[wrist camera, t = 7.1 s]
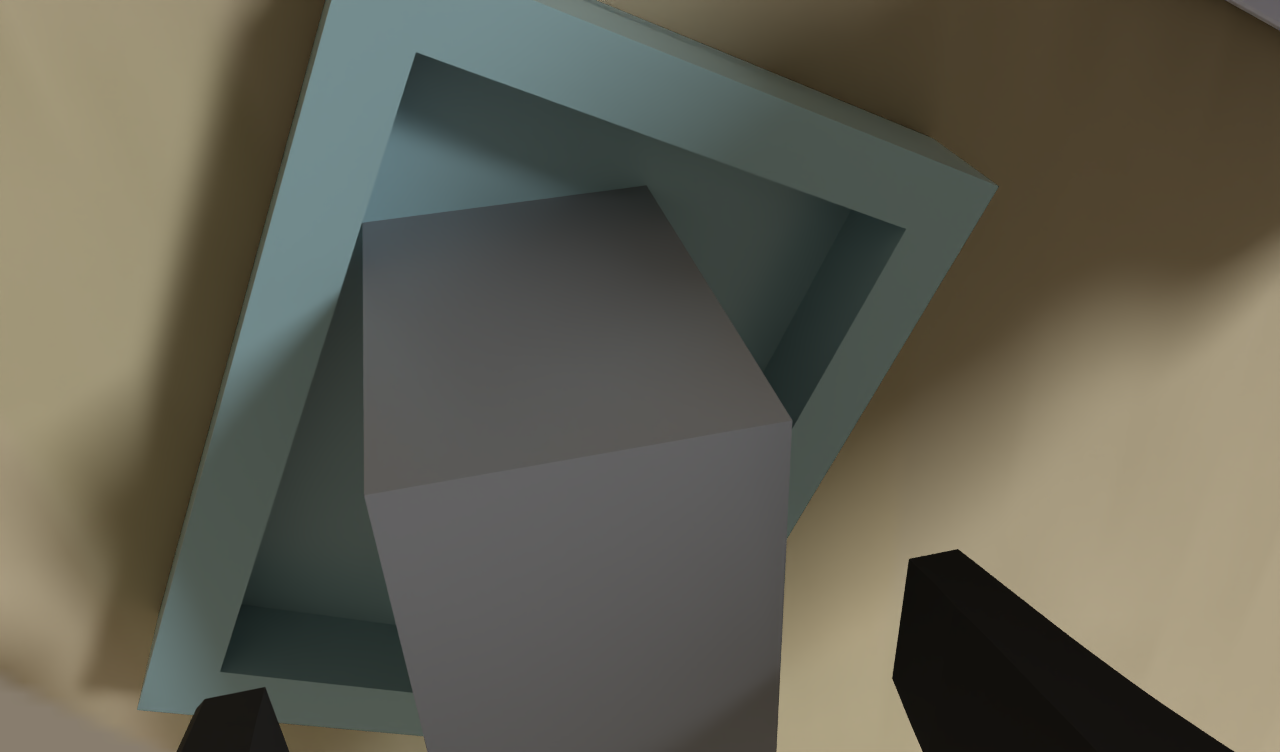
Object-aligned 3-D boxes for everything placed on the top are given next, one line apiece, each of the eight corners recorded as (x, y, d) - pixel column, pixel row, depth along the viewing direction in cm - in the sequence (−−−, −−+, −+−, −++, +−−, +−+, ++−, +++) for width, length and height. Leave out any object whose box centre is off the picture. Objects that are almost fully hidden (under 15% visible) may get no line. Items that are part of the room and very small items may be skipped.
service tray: (932, 137, 16) (998, 186, 14) (630, 679, 21) (653, 760, 19) (351, -101, 12) (351, -72, 11) (156, 620, 17) (135, 714, 16)
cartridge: (646, 184, 15) (792, 420, 10) (662, 552, 18) (771, 853, 14) (362, 222, 14) (363, 494, 9) (440, 594, 18) (470, 927, 13)
